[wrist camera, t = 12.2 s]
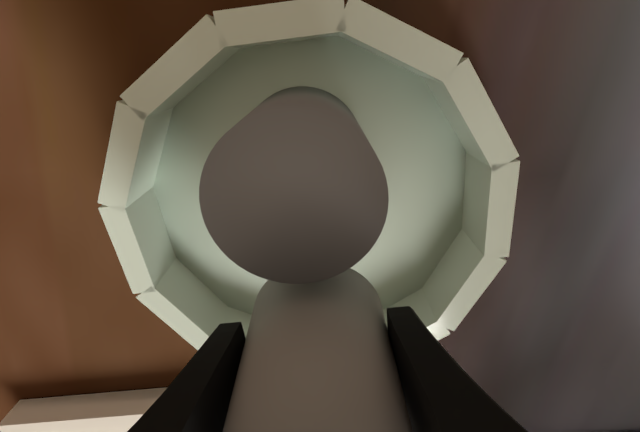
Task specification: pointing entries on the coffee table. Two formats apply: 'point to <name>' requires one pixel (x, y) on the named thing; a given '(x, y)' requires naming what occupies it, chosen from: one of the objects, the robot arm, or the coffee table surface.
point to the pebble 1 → (294, 189)
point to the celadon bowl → (375, 121)
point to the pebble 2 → (318, 362)
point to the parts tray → (81, 412)
